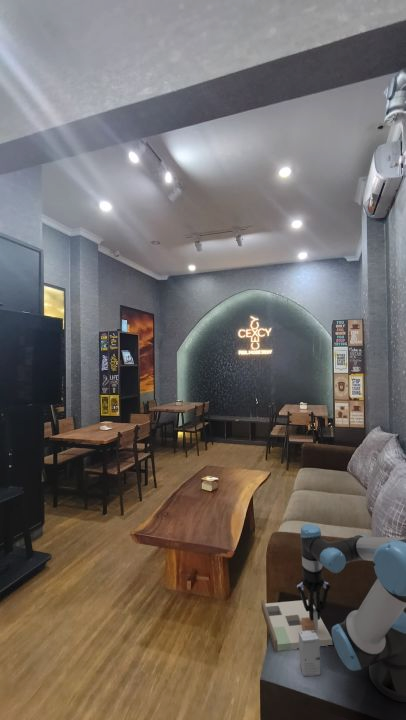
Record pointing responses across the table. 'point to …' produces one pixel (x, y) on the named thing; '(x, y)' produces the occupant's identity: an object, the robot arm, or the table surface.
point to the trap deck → (290, 624)
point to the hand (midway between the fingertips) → (315, 627)
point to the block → (307, 624)
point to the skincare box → (309, 653)
